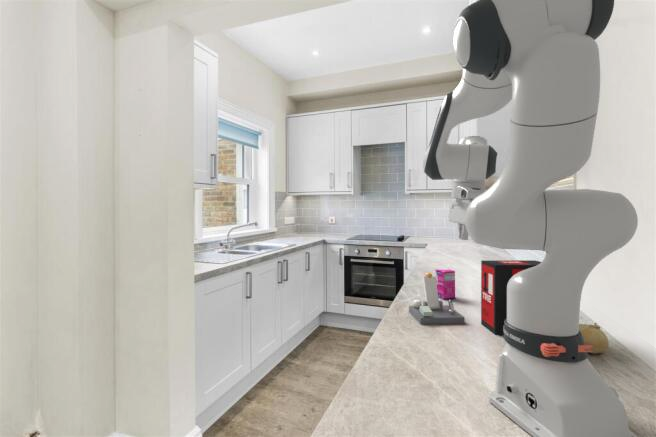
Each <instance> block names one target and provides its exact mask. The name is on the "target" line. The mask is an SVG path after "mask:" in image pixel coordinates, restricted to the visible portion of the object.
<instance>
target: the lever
mask: <svg viewBox="0 0 656 437" xmlns="http://www.w3.org/2000/svg"><path fill="white" fill-rule="evenodd" d="M424 275H425V276H423V277H422V284H423V289H424V290H423V292H424V299H425V300H424V301H426V302H427V306H428V307H429V308H430V309H440V305H439V301H440V298H439V297H438V292H437V285H436V278H435V276H433V274H432V273H431V272H426V273H425V274H424Z"/></svg>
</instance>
